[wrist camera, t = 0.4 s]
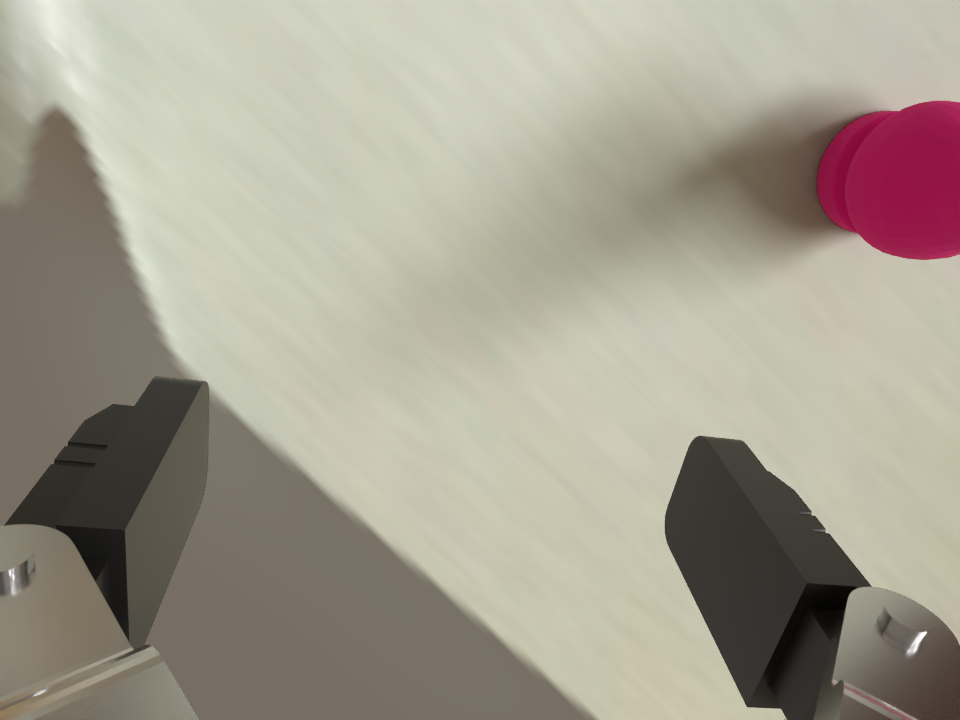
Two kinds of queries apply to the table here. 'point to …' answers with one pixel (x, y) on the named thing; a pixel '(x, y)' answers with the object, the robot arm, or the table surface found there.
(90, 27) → the table surface
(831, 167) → the pepper mill
